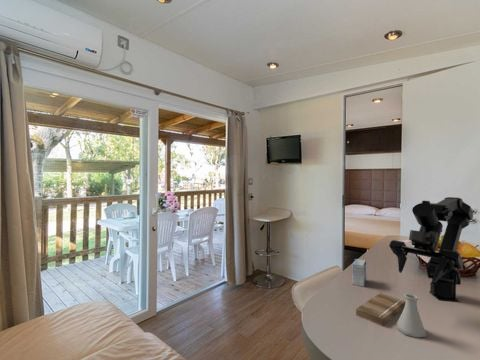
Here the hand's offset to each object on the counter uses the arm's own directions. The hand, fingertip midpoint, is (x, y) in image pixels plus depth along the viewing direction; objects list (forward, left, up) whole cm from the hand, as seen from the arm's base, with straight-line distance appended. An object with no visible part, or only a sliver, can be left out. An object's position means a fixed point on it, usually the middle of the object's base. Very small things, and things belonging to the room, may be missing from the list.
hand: (416, 276), depth 79 cm
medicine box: (+10, -26, -14) cm, 31 cm away
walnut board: (+9, -3, -13) cm, 16 cm away
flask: (+4, +7, -14) cm, 16 cm away
